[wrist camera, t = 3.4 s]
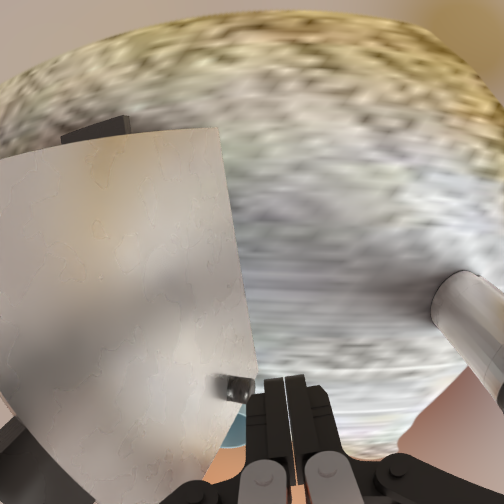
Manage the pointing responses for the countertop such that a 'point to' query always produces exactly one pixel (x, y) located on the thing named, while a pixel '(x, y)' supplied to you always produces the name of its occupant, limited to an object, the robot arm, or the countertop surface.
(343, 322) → the countertop surface
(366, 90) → the countertop surface
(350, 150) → the countertop surface
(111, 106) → the countertop surface
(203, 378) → the lid
